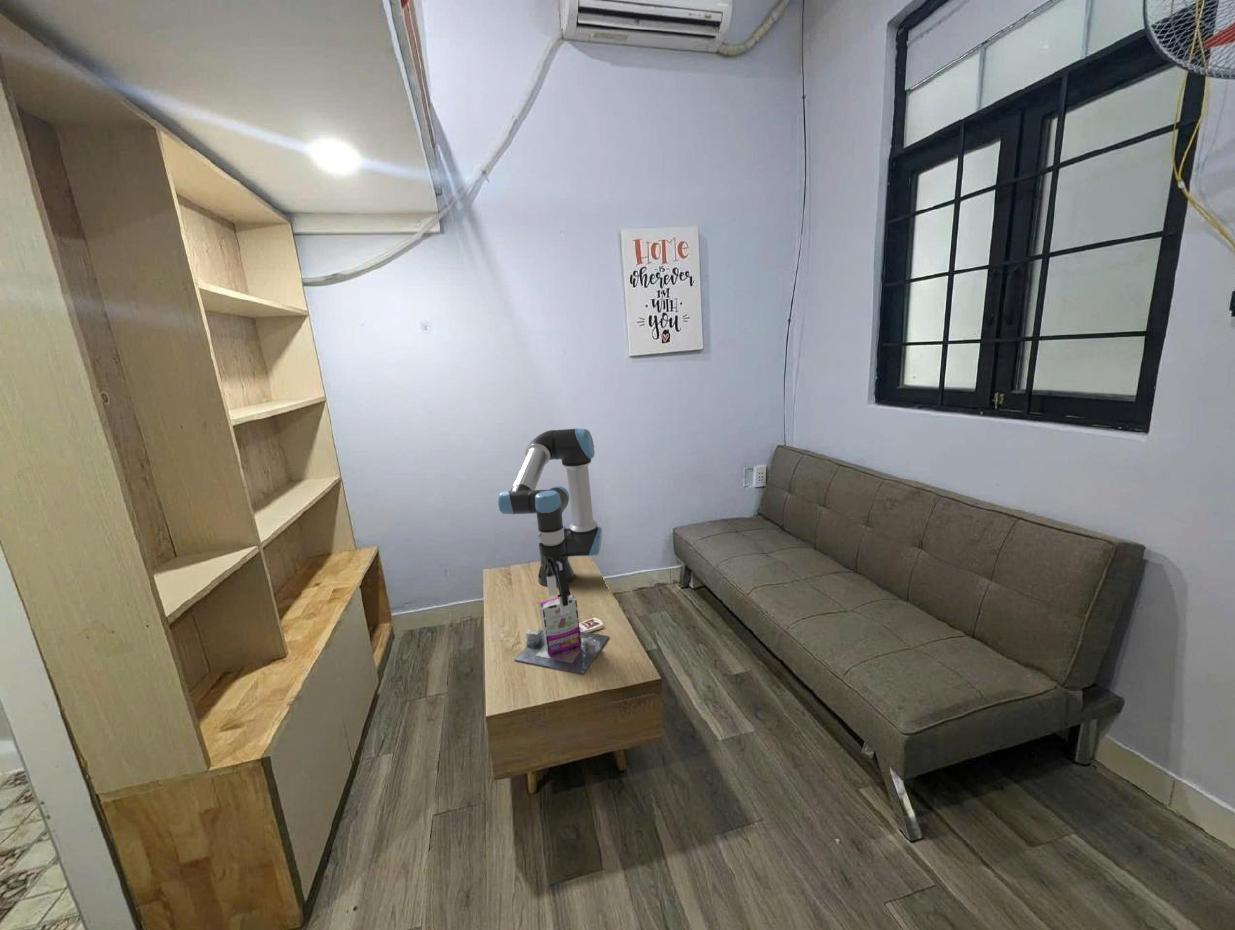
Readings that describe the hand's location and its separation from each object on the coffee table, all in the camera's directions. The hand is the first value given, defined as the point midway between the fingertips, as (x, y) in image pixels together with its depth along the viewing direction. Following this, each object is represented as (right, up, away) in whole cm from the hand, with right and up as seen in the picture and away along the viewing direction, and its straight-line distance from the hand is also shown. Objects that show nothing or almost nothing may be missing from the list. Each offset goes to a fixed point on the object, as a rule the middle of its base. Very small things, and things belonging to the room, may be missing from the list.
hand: (559, 603), depth 153 cm
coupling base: (+1, -15, +3) cm, 16 cm away
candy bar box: (+1, -15, +3) cm, 15 cm away
